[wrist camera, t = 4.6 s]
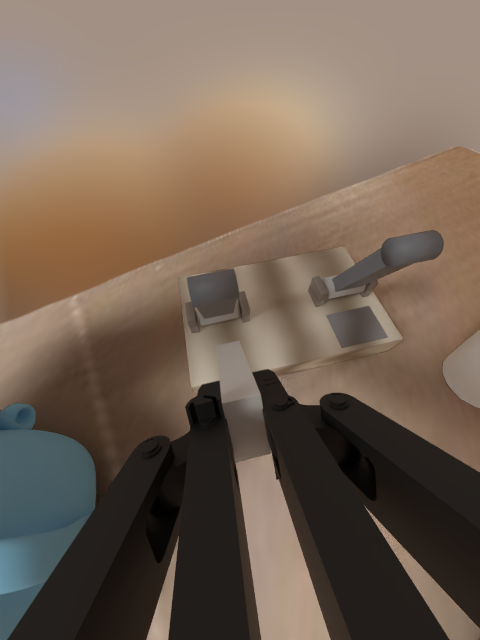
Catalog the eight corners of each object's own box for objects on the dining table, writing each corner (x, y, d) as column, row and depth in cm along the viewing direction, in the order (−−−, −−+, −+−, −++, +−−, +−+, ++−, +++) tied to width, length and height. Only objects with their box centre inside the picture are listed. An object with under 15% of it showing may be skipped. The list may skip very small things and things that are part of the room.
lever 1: (202, 326, 27) (183, 309, 15) (198, 305, 27) (176, 271, 15) (238, 319, 27) (248, 296, 15) (233, 298, 27) (240, 259, 15)
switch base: (196, 395, 26) (185, 380, 21) (183, 292, 33) (172, 264, 28) (388, 350, 28) (416, 327, 23) (337, 262, 35) (350, 231, 30)
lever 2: (323, 301, 28) (399, 266, 16) (318, 281, 28) (389, 231, 16) (356, 294, 28) (455, 254, 16) (350, 274, 28) (444, 221, 16)
